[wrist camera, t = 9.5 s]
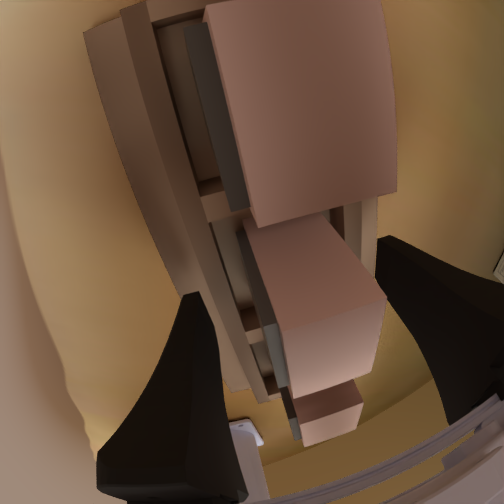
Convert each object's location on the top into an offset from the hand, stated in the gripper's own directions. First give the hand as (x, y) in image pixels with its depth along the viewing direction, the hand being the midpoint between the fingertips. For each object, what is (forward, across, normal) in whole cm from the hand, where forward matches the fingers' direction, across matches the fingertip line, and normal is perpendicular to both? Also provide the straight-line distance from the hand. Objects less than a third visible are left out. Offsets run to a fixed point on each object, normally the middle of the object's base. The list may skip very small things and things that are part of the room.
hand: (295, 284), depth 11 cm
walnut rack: (+3, 0, 0) cm, 3 cm away
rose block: (+2, 0, 0) cm, 2 cm away
